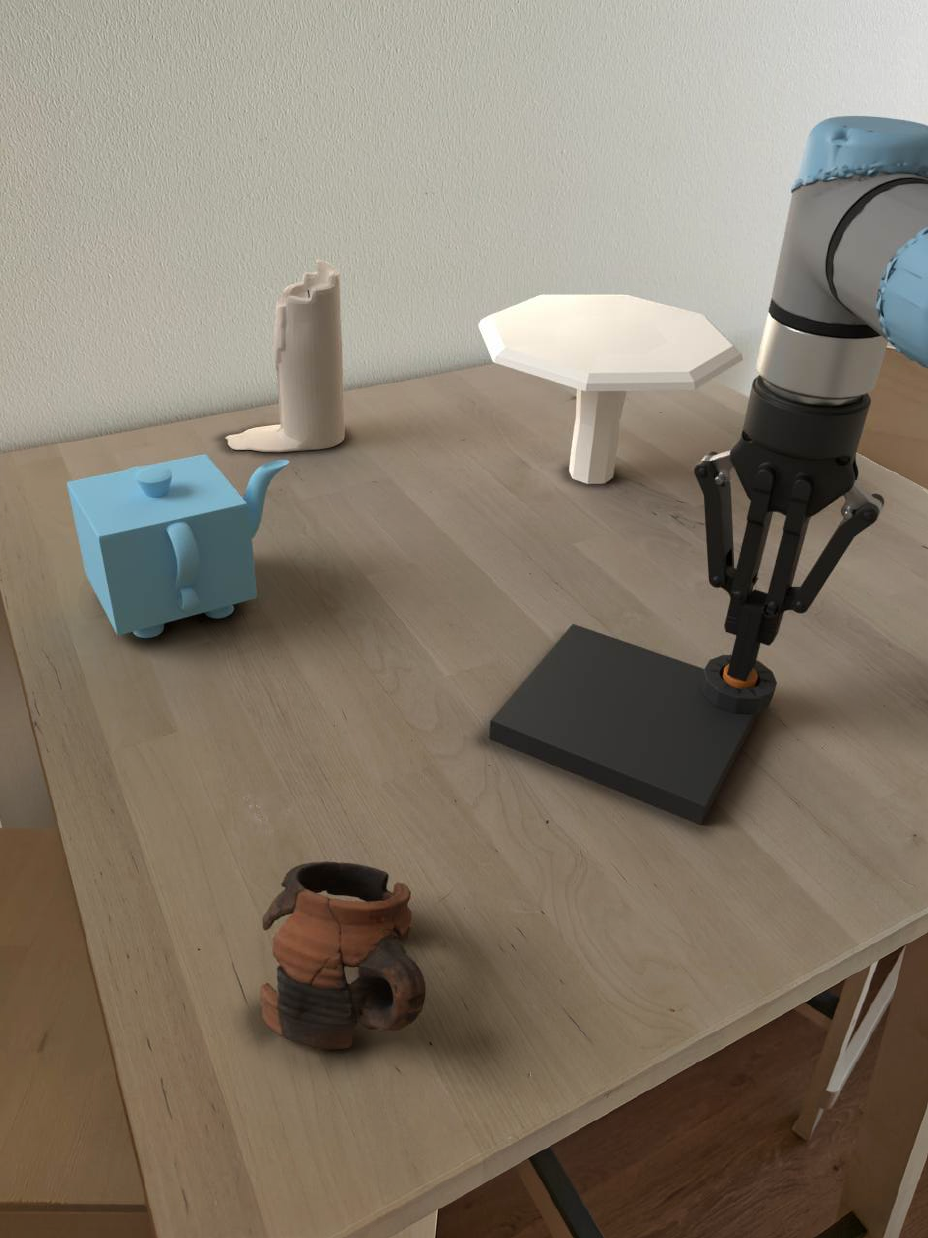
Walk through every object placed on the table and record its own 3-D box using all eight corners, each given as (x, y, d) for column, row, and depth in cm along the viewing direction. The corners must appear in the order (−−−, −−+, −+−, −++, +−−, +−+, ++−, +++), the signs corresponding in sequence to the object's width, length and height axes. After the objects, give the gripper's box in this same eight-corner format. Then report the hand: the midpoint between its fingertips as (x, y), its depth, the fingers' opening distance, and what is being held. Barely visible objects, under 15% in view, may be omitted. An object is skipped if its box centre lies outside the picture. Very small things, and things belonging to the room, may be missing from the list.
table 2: (707, 556, 101) (739, 398, 91) (438, 511, 106) (442, 358, 97) (722, 442, 123) (750, 305, 114) (499, 409, 128) (508, 276, 119)
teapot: (129, 668, 83) (103, 531, 75) (82, 576, 94) (55, 449, 86) (330, 610, 91) (324, 481, 83) (265, 532, 101) (255, 412, 94)
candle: (223, 430, 120) (205, 259, 109) (339, 421, 124) (333, 254, 112) (228, 457, 115) (210, 279, 103) (349, 447, 118) (344, 273, 106)
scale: (774, 702, 82) (784, 669, 80) (711, 829, 71) (720, 793, 69) (576, 633, 89) (580, 601, 87) (488, 738, 77) (491, 703, 75)
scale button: (757, 684, 80) (762, 669, 80) (748, 702, 79) (752, 686, 78) (726, 673, 82) (730, 658, 81) (716, 690, 80) (719, 675, 79)
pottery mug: (216, 1004, 58) (236, 867, 58) (338, 967, 66) (357, 845, 65) (355, 1106, 51) (380, 949, 50) (477, 1052, 58) (500, 914, 57)
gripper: (927, 387, 66) (836, 671, 79) (733, 345, 71) (678, 619, 84) (906, 427, 60) (812, 725, 74) (697, 378, 65) (645, 666, 79)
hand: (741, 668), depth 79 cm, fingers closed
